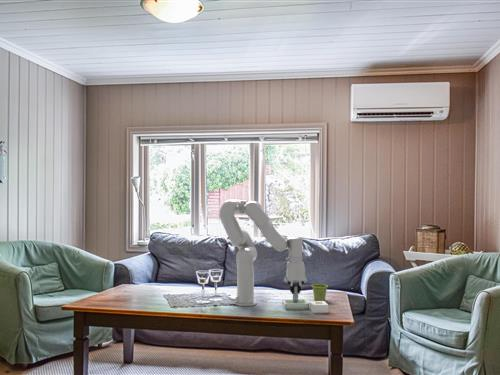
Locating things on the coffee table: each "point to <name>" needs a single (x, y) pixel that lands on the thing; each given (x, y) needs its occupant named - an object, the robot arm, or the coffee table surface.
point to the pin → (295, 292)
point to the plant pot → (319, 291)
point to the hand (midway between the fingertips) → (295, 292)
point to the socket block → (318, 306)
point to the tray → (295, 304)
